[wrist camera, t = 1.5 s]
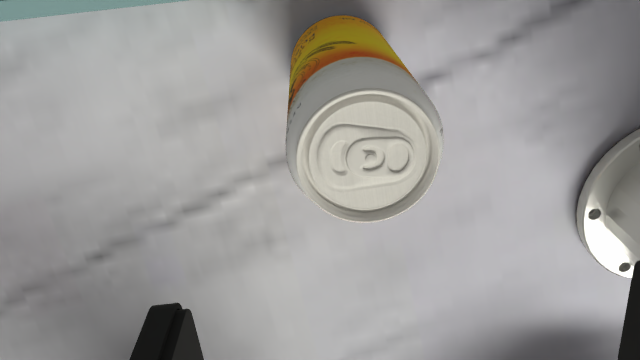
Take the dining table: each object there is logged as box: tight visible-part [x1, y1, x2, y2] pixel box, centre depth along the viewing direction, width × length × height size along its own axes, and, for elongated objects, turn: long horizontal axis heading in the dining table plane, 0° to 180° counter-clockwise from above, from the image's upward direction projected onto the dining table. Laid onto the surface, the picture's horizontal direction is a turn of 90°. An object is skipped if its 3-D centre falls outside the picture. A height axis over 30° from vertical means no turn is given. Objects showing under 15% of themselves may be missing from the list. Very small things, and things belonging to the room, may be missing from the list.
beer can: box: [286, 15, 444, 223], centre depth 26 cm, size 6×6×15 cm
